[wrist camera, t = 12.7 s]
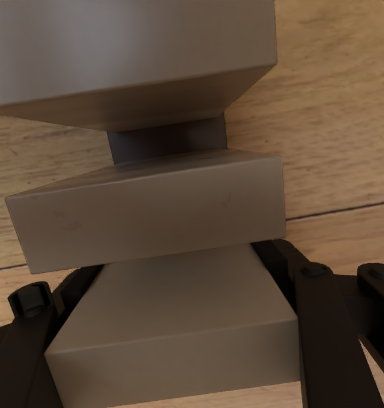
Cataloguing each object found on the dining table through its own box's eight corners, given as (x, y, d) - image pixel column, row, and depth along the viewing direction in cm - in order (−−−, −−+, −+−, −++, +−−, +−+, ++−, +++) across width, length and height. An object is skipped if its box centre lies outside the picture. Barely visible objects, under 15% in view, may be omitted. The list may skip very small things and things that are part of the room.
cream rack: (84, 13, 15) (-250, -413, 4) (208, -7, 15) (284, -514, 3) (140, 265, 20) (74, 444, 8) (236, 251, 20) (311, 411, 8)
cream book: (132, 222, 17) (41, 354, 6) (228, 208, 17) (299, 317, 6) (138, 250, 18) (64, 414, 7) (231, 237, 18) (301, 382, 7)
